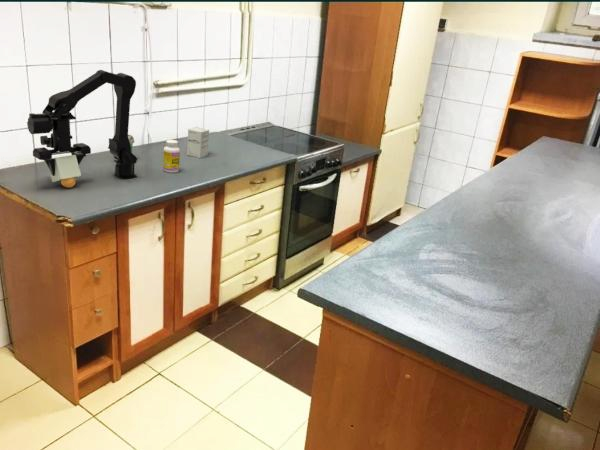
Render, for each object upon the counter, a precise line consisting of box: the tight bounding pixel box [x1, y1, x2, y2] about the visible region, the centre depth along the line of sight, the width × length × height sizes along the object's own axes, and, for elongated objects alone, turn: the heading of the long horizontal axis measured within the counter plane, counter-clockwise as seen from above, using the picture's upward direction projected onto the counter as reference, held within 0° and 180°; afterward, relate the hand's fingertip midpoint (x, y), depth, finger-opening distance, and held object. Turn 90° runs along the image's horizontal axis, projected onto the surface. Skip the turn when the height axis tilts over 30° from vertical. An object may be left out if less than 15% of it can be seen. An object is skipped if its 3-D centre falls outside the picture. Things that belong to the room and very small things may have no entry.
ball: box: [60, 177, 77, 189], centre depth 186 cm, size 5×5×5 cm
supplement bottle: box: [162, 139, 181, 174], centre depth 216 cm, size 7×7×13 cm
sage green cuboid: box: [47, 154, 82, 183], centre depth 187 cm, size 8×8×8 cm
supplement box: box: [186, 126, 210, 159], centre depth 242 cm, size 7×7×13 cm
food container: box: [113, 133, 135, 163], centre depth 223 cm, size 12×6×10 cm, turn 168°
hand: (63, 173), depth 188 cm, fingers open, 8 cm apart
